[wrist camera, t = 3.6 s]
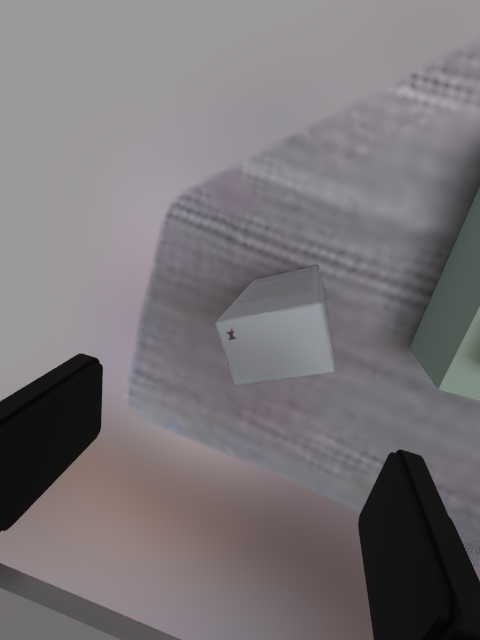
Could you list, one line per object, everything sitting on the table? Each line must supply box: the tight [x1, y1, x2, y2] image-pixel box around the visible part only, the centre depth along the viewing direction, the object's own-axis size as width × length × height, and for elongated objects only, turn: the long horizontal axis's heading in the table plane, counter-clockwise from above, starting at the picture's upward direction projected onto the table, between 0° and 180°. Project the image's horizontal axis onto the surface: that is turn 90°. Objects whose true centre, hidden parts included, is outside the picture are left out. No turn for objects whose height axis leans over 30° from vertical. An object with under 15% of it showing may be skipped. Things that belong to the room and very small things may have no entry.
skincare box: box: [215, 265, 335, 386], centre depth 22 cm, size 6×4×12 cm
